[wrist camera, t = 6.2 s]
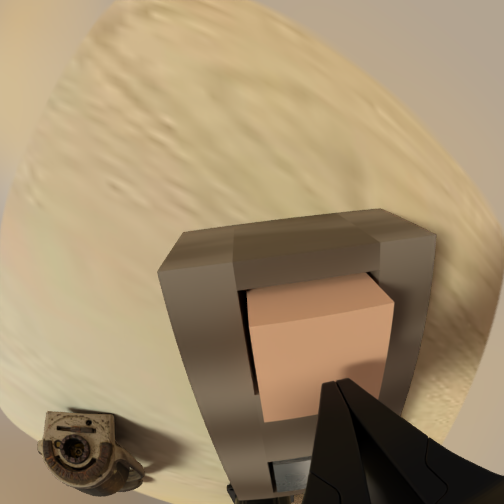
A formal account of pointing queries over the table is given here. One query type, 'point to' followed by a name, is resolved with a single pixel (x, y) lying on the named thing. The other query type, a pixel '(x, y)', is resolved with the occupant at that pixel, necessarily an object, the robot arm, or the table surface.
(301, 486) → the aluminium plug
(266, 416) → the terracotta plug
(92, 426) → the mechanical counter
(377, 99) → the table surface
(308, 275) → the plug panel
